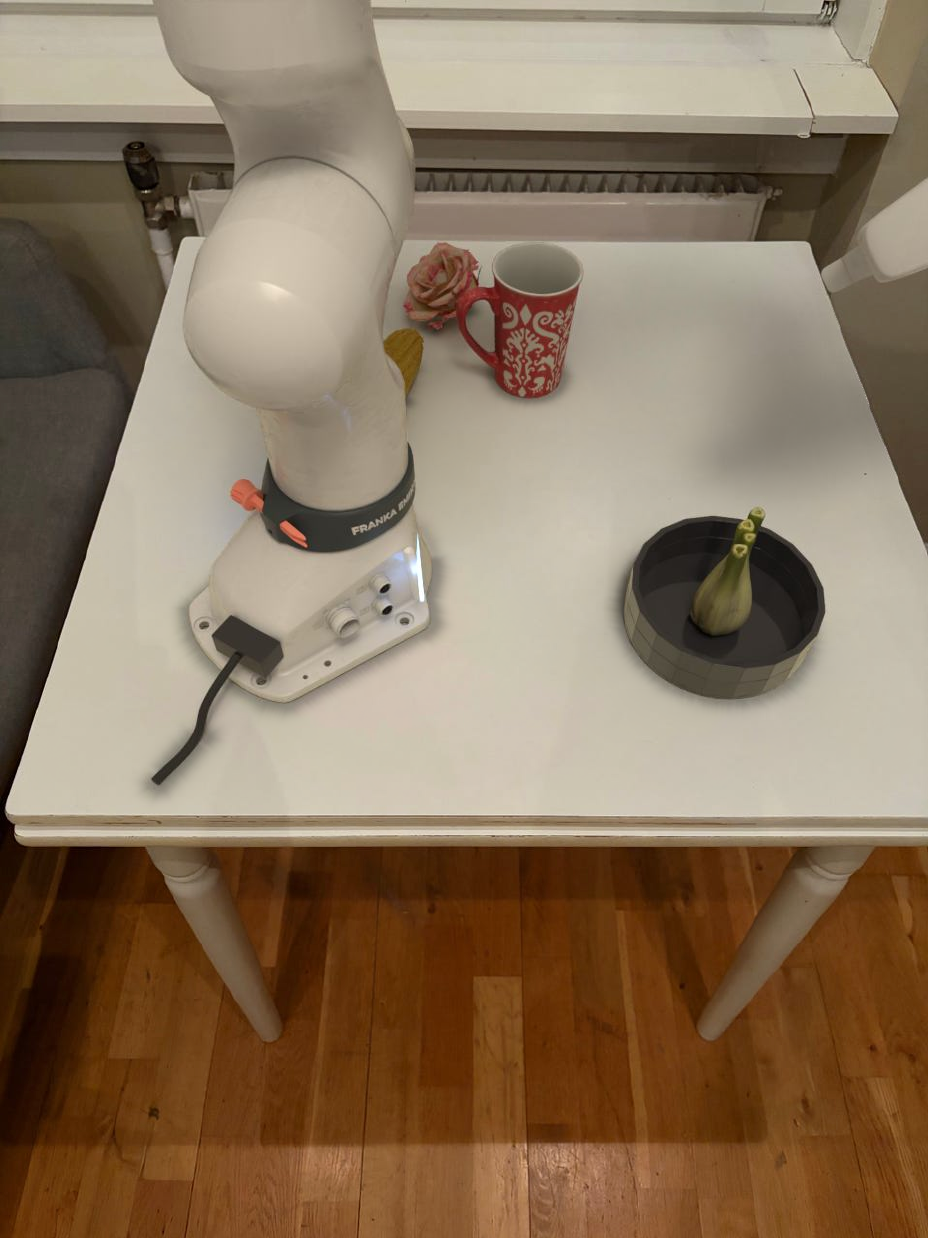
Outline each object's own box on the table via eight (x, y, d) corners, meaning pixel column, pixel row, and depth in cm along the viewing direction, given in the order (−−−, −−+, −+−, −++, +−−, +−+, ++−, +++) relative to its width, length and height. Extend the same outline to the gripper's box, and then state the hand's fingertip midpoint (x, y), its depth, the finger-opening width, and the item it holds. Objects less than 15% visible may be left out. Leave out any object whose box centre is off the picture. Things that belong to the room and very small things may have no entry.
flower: (467, 266, 112) (429, 224, 106) (516, 289, 107) (479, 247, 100) (420, 334, 113) (379, 296, 107) (466, 361, 108) (426, 323, 101)
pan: (736, 734, 78) (752, 703, 74) (586, 621, 84) (593, 586, 80) (842, 621, 85) (861, 587, 81) (695, 524, 91) (707, 488, 87)
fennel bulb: (720, 586, 86) (755, 496, 76) (759, 622, 84) (800, 534, 74) (673, 615, 84) (702, 526, 74) (711, 653, 82) (747, 566, 72)
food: (373, 489, 93) (369, 445, 89) (320, 478, 94) (312, 434, 89) (433, 355, 105) (432, 310, 100) (385, 346, 106) (382, 301, 101)
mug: (556, 344, 107) (568, 235, 96) (579, 397, 102) (595, 289, 91) (447, 359, 105) (446, 250, 94) (465, 414, 100) (466, 305, 89)
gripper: (1092, 78, 61) (892, 198, 72) (996, 115, 49) (772, 254, 60) (1131, 167, 62) (927, 273, 73) (1046, 227, 50) (815, 344, 61)
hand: (856, 265), depth 66 cm, fingers open, 8 cm apart
